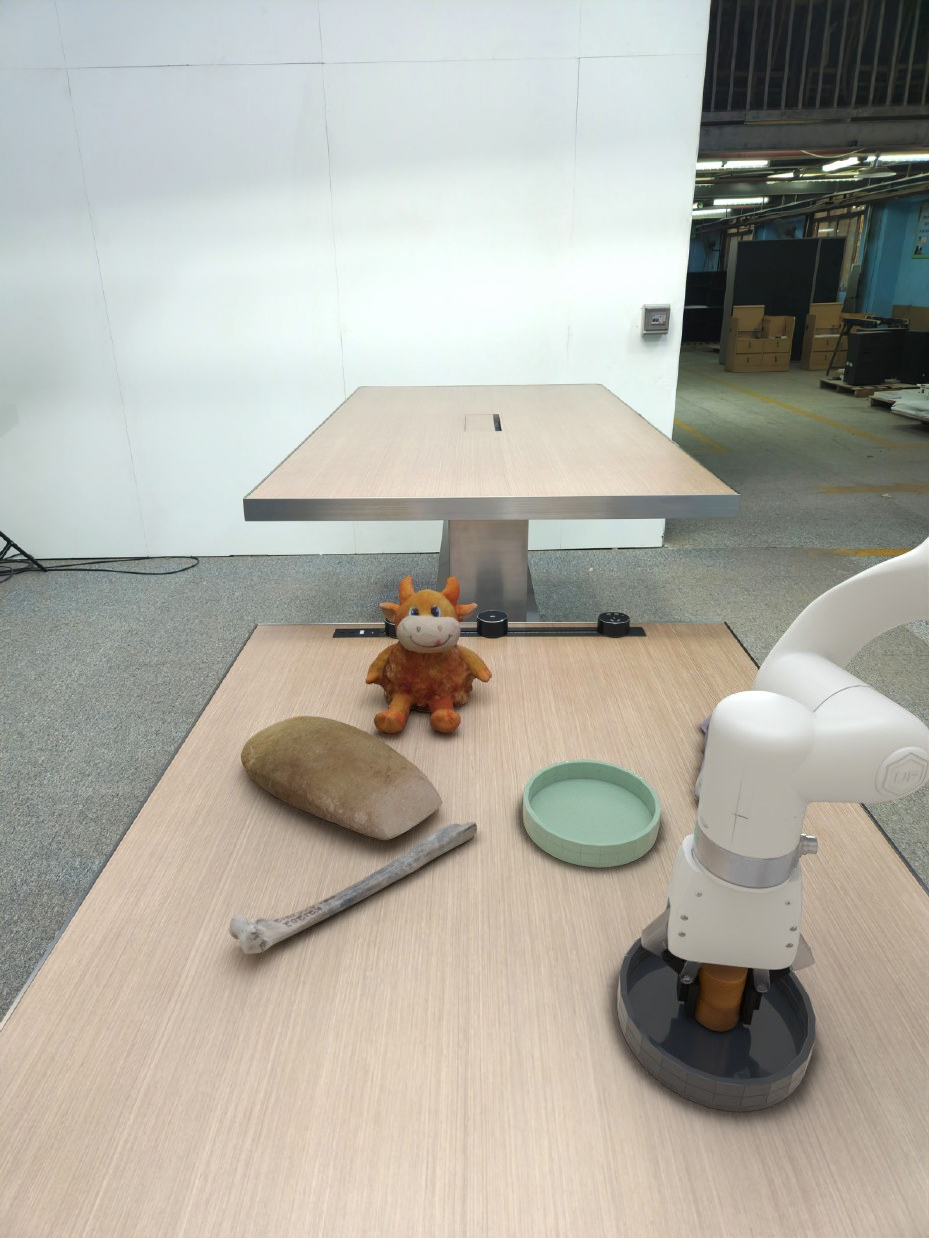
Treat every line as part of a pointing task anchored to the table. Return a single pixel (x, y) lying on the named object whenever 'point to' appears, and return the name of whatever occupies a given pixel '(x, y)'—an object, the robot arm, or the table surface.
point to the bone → (346, 892)
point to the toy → (426, 658)
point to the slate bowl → (715, 1038)
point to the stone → (340, 775)
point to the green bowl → (591, 813)
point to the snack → (720, 995)
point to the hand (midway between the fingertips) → (715, 1005)
